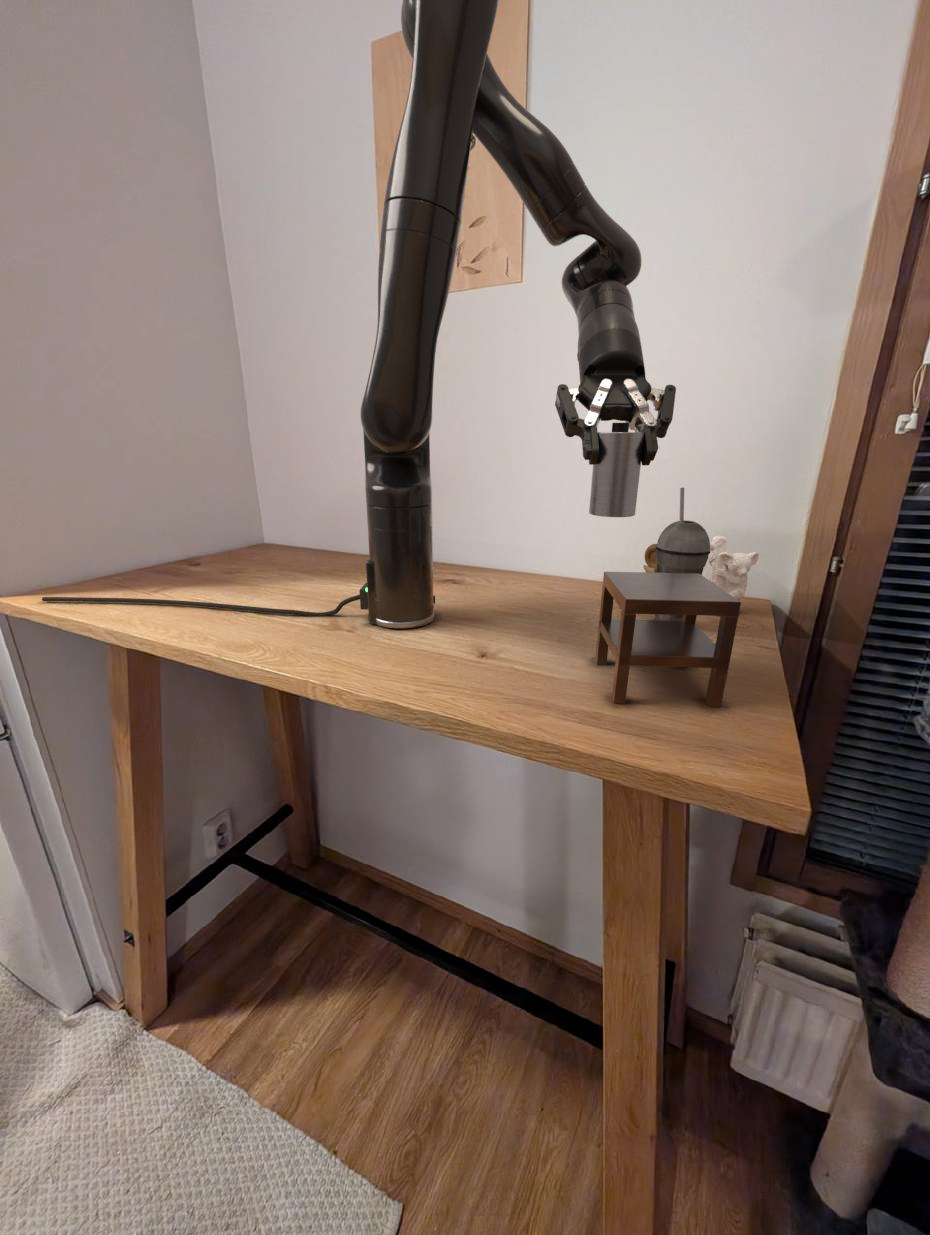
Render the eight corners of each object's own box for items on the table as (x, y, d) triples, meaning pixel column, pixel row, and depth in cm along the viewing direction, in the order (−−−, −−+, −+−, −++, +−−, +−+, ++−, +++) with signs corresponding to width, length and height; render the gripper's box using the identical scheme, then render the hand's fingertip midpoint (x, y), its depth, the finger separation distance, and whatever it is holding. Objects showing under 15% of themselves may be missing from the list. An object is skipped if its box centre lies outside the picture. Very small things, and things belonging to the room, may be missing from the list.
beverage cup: (702, 637, 72) (727, 491, 66) (648, 632, 74) (667, 489, 67) (691, 620, 79) (713, 486, 73) (642, 616, 81) (659, 484, 74)
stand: (613, 703, 54) (625, 599, 50) (595, 660, 64) (603, 571, 61) (721, 707, 54) (741, 601, 50) (684, 663, 64) (699, 573, 60)
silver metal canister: (593, 517, 58) (601, 422, 55) (585, 510, 63) (592, 423, 60) (640, 517, 58) (651, 422, 54) (628, 511, 63) (638, 423, 59)
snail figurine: (658, 615, 81) (669, 539, 77) (626, 604, 86) (635, 533, 82) (680, 609, 84) (692, 536, 80) (648, 599, 89) (657, 530, 85)
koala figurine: (689, 613, 82) (701, 538, 78) (690, 601, 88) (701, 531, 84) (749, 620, 79) (765, 543, 75) (745, 608, 85) (760, 535, 81)
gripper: (554, 326, 61) (559, 433, 54) (678, 325, 60) (701, 434, 53) (547, 379, 68) (551, 482, 60) (659, 380, 67) (676, 483, 60)
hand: (621, 459), depth 57 cm, fingers closed on silver metal canister, 5 cm apart
